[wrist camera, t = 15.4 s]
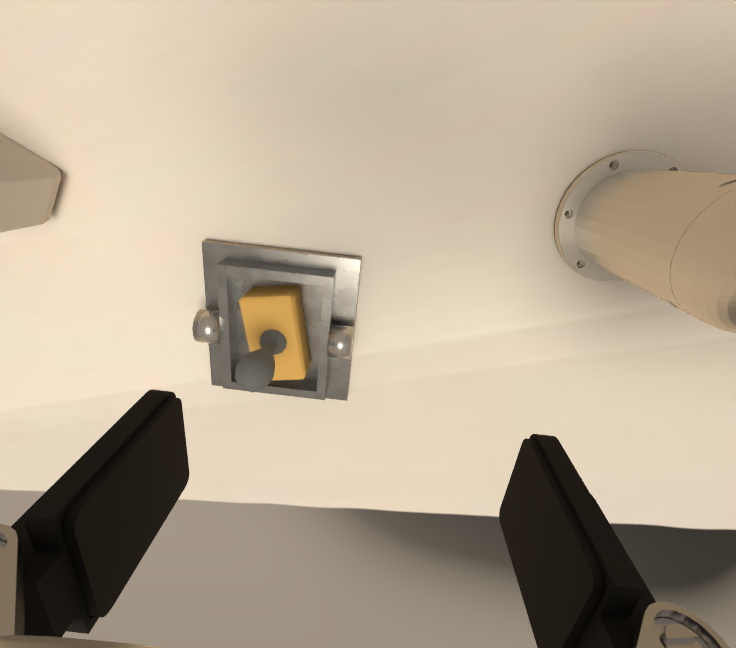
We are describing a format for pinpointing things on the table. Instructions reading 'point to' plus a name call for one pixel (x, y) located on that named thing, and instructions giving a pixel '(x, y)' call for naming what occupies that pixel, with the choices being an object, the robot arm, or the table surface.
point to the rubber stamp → (273, 337)
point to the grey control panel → (25, 186)
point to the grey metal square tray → (320, 306)
